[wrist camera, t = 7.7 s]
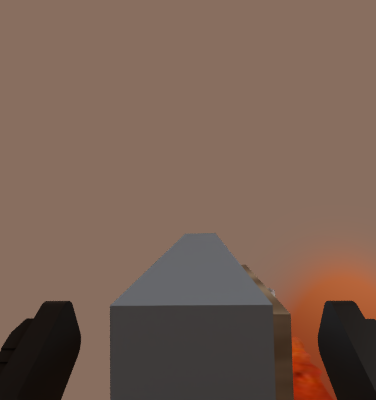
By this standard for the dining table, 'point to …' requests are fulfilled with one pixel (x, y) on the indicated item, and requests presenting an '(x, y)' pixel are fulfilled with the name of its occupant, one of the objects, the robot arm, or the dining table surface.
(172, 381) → the gray bar
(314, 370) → the dining table surface
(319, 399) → the dining table surface
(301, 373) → the dining table surface
